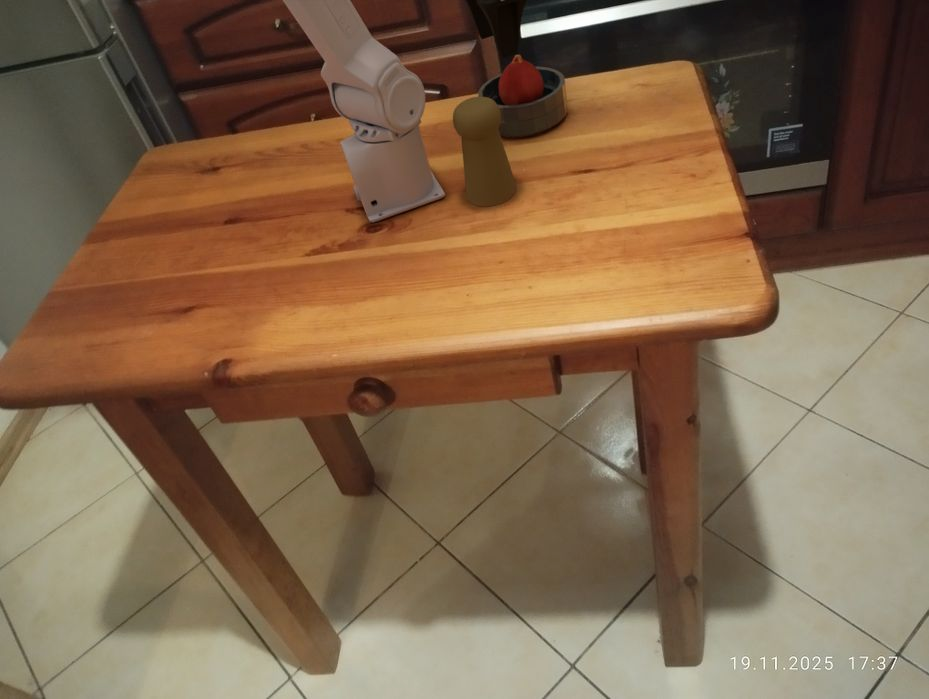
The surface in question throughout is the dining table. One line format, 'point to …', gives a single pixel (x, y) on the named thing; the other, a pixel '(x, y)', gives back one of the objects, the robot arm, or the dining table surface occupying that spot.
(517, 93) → the onion
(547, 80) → the bowl
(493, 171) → the olive pawn
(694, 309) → the dining table surface
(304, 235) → the dining table surface
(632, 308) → the dining table surface
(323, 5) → the robot arm
